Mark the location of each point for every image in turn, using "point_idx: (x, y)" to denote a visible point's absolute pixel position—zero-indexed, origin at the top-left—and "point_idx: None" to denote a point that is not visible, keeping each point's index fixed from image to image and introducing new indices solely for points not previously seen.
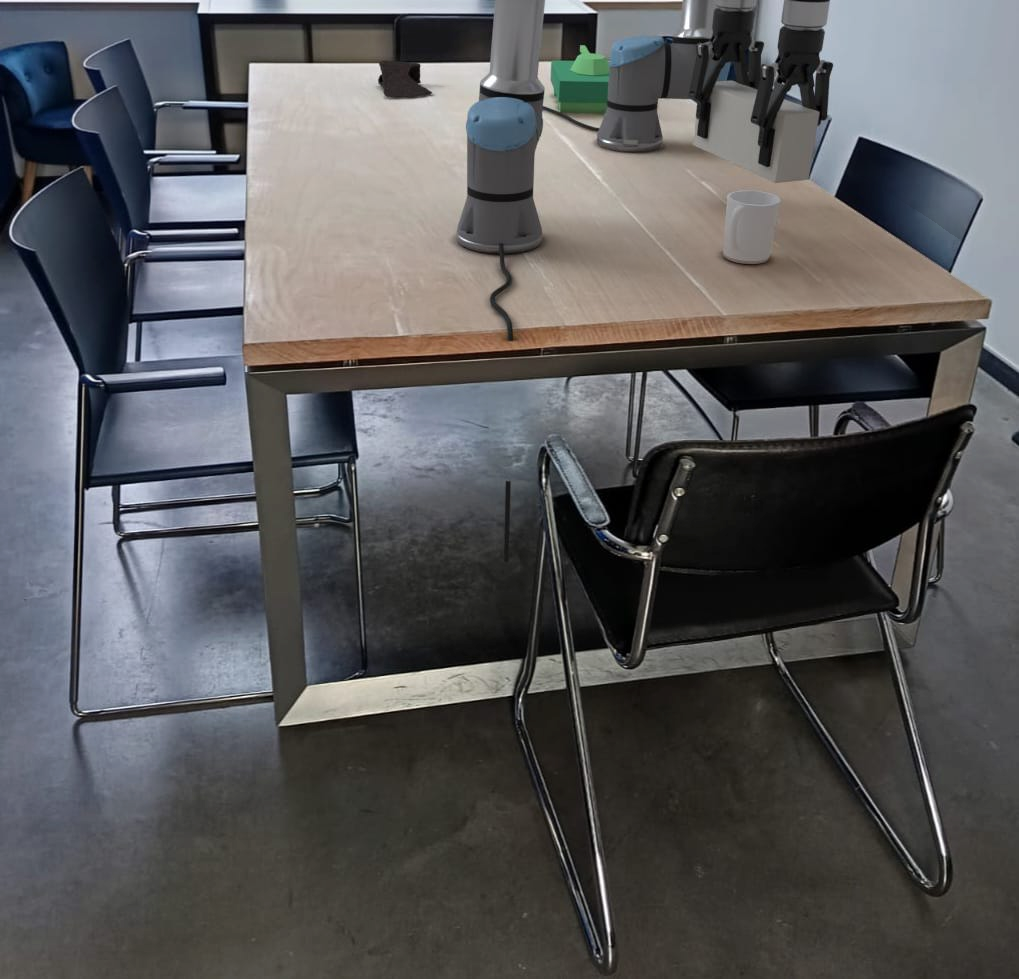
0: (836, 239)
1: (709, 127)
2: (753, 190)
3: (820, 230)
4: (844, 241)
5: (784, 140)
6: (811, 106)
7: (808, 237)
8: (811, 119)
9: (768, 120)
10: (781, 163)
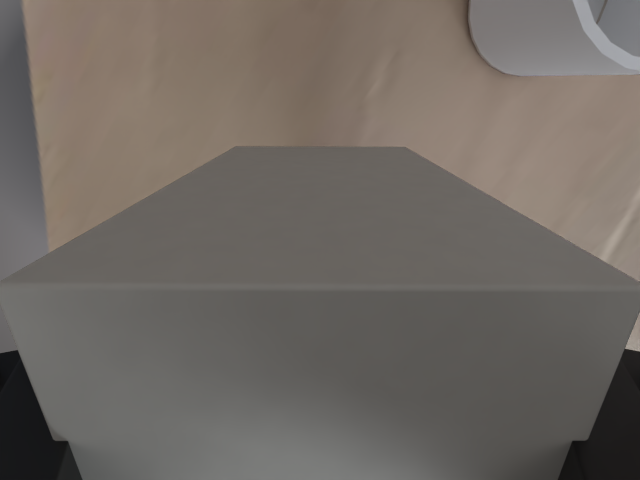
0: (188, 53)
1: None
2: (603, 50)
3: (193, 139)
4: (173, 27)
5: (452, 189)
6: (35, 472)
7: (257, 98)
8: (172, 242)
9: (625, 369)
10: (407, 159)
